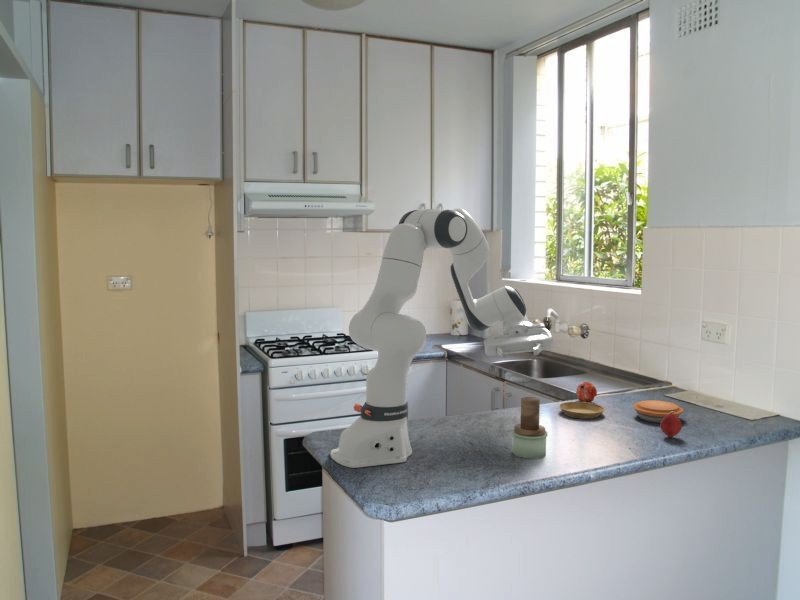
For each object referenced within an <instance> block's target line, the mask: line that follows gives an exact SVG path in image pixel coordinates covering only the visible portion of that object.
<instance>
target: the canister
mask: <svg viewBox="0 0 800 600" xmlns="http://www.w3.org/2000/svg"><path fill="white" fill-rule="evenodd" d="M511 434H512V454H513V455H514V456H516V457H518V458H521V457H523V458H522V459H528V458H530V459H531V460H532V459H534V460H535V458H537V459H541V458H545V457H546V454H547V453H546V452H547V437H548V431H546V430H545V434H544V435H542V436H537V437H528V436H522V435H518V434H516V433H515V432H514V428H513V429H512V430H511Z"/></svg>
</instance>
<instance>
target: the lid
mask: <svg viewBox="0 0 800 600" xmlns="http://www.w3.org/2000/svg"><path fill="white" fill-rule="evenodd" d="M540 401H541V399H540V398H537V397H535V396H534V397H533V396H525V397H521V398H520V423H519V424H518V423H517V424H516V425H514V427H513V429H514V432H515V433H516V434H518V435H522V436H528V437H537V436H542V435H544V434H545V431H546V427H544V426H543V425H540V404H541V402H540Z"/></svg>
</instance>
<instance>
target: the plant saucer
mask: <svg viewBox="0 0 800 600" xmlns="http://www.w3.org/2000/svg"><path fill="white" fill-rule="evenodd" d="M558 407H559V409H560V410H561V411H562V412H563V413H564V414H565V415H566V416H568V417H571V418H575V419H583V420H584V419H585V420H586V419H595V418H598V417H599V416H601V415H602V414H603V413H604V411H606V408H605V407H604V406H602V405H600V404H597V403H593V402H592V403H591V402H590V403H587V402H583V401H567V402H562V403H560V404H559V406H558Z"/></svg>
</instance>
